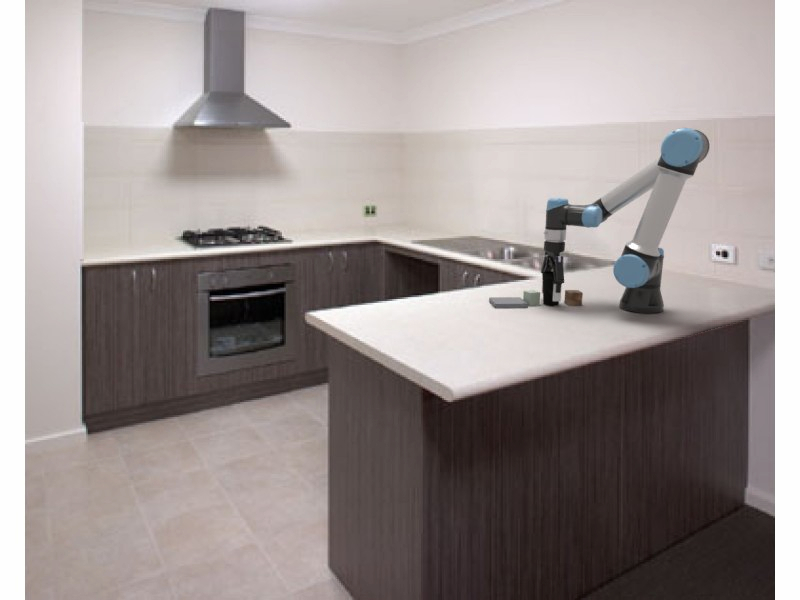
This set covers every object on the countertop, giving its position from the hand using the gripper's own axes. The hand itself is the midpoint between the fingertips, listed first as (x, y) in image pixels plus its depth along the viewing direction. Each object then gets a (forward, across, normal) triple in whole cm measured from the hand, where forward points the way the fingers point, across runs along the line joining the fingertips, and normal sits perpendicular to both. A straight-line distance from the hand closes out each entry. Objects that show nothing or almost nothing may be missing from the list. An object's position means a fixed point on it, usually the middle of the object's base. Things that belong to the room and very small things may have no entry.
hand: (550, 297), depth 238 cm
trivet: (+3, 0, -16) cm, 16 cm away
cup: (+3, 0, 0) cm, 3 cm away
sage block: (+3, 0, -7) cm, 8 cm away
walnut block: (+3, 0, +9) cm, 9 cm away
